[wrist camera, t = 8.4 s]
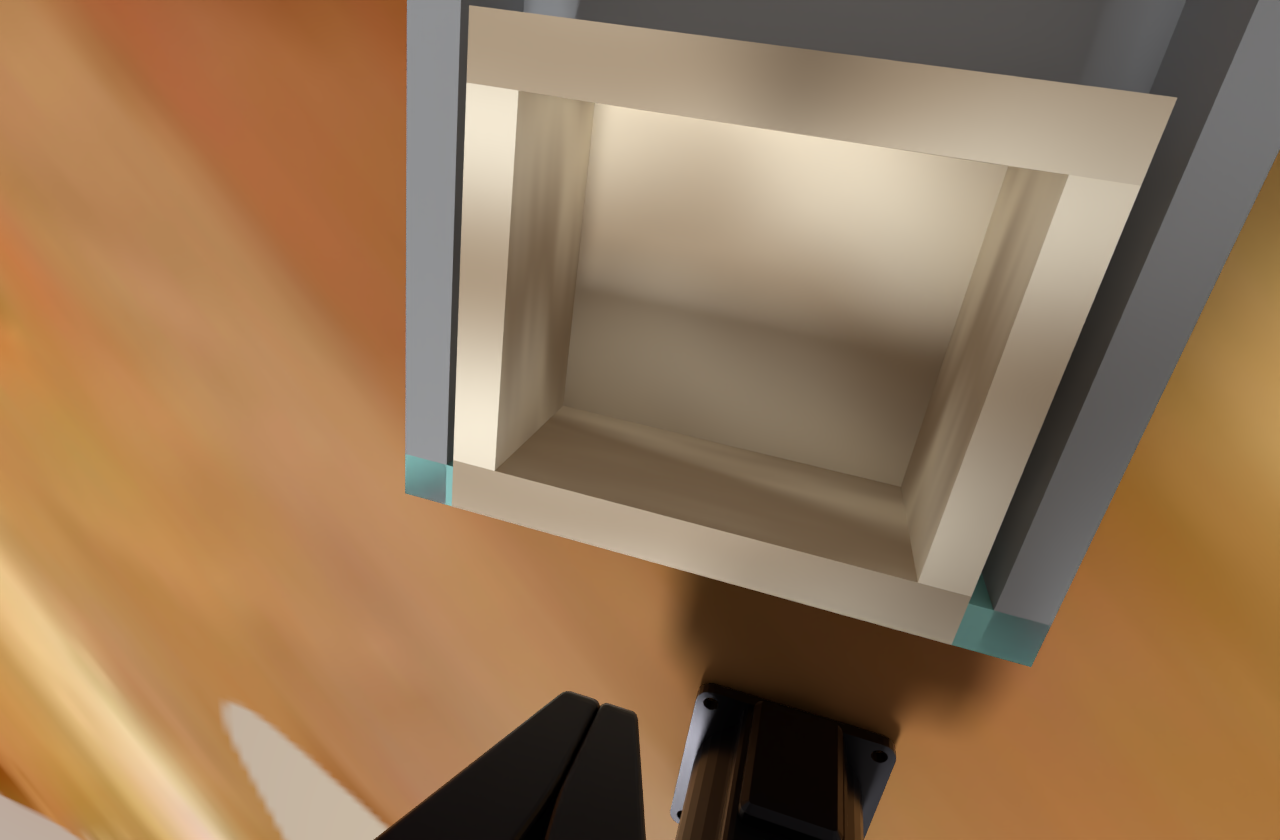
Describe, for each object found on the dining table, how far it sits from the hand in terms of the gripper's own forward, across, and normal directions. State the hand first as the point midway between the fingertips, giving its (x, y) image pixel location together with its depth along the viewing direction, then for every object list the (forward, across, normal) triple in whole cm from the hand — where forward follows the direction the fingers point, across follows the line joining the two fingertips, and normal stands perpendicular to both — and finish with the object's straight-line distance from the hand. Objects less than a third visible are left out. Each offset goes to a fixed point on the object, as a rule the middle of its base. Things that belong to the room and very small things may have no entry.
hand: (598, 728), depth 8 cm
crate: (+12, 0, -2) cm, 12 cm away
